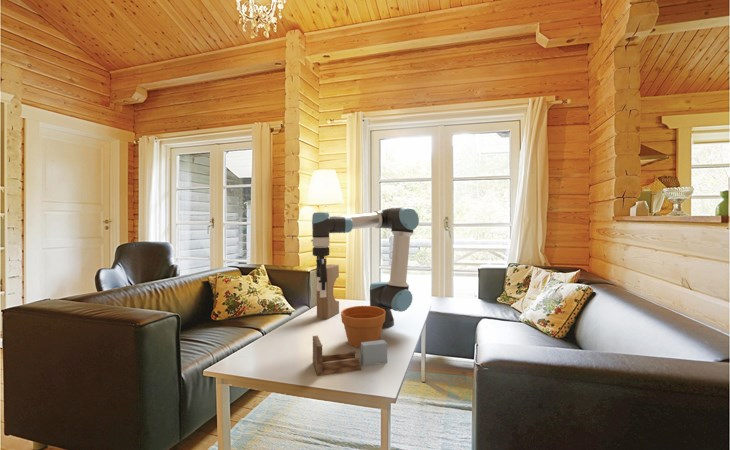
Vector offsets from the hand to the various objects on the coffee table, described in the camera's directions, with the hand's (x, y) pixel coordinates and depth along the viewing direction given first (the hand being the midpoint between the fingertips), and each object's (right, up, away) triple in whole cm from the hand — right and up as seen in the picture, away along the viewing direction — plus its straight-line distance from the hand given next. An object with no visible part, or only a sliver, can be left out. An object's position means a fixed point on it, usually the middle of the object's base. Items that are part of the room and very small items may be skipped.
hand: (321, 294), depth 153 cm
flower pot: (+19, -25, +8) cm, 32 cm away
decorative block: (-3, -24, +54) cm, 59 cm away
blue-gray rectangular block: (+23, -25, -14) cm, 37 cm away
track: (+8, -25, -18) cm, 32 cm away
